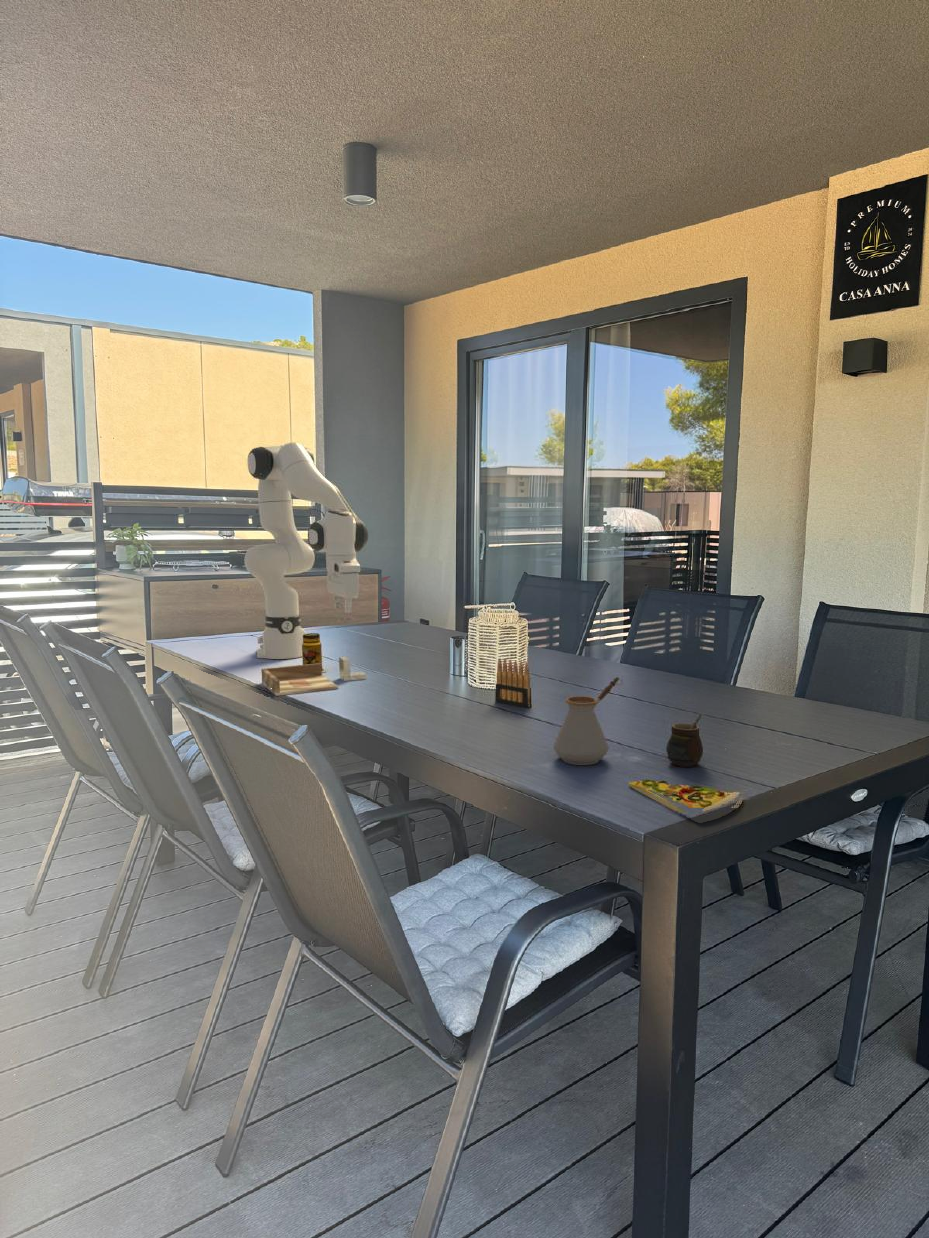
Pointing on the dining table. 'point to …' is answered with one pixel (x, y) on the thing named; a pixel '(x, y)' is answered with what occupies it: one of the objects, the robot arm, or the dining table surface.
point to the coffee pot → (582, 731)
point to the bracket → (345, 671)
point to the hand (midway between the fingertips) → (342, 610)
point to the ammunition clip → (513, 685)
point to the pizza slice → (685, 795)
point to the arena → (296, 679)
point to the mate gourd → (685, 744)
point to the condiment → (312, 649)
